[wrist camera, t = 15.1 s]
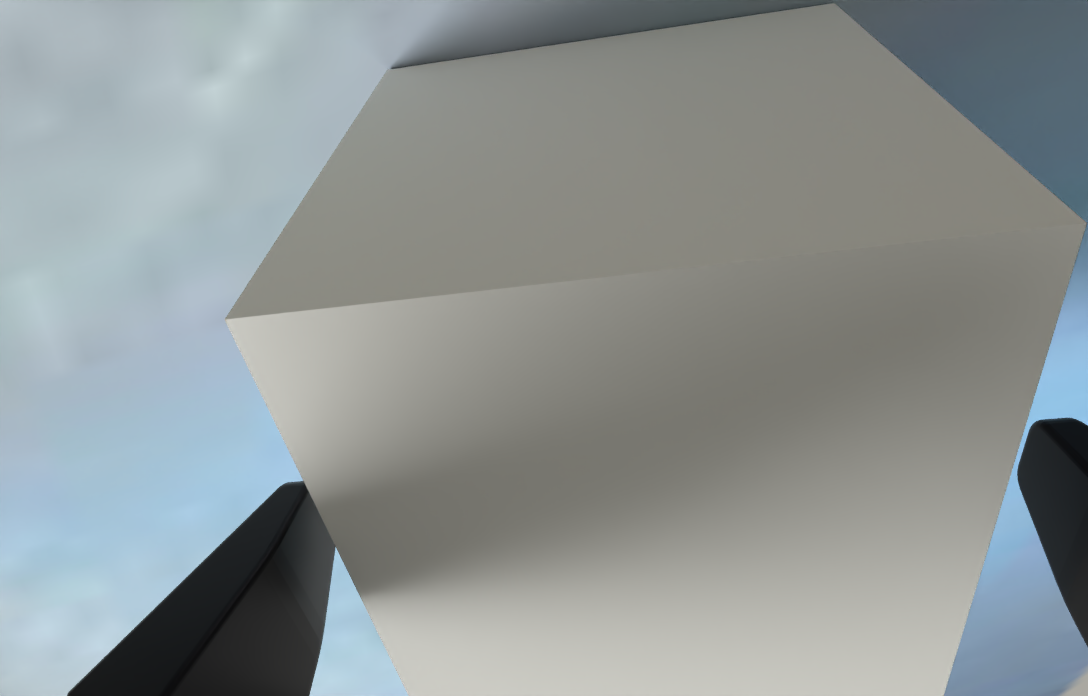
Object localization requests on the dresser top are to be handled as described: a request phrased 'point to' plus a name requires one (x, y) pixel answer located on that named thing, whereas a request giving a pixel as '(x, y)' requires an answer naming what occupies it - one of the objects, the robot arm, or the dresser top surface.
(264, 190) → the dresser top surface
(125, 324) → the dresser top surface
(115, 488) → the dresser top surface
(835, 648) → the white cube
